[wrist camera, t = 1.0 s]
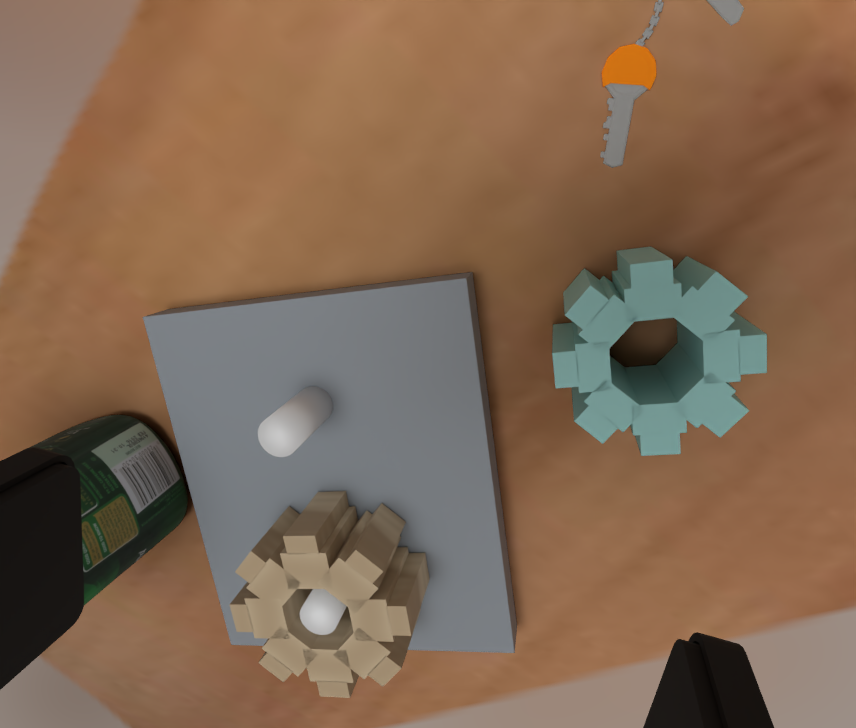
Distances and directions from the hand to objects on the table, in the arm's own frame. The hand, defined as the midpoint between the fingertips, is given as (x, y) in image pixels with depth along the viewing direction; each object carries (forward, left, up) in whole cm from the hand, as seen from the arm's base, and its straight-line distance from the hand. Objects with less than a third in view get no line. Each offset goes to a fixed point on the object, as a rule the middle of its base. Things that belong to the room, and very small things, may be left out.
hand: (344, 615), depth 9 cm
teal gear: (-7, +1, -20) cm, 21 cm away
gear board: (+8, +7, -20) cm, 23 cm away
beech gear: (+8, +11, -18) cm, 23 cm away
